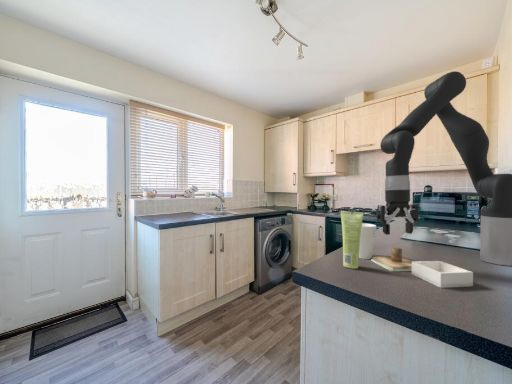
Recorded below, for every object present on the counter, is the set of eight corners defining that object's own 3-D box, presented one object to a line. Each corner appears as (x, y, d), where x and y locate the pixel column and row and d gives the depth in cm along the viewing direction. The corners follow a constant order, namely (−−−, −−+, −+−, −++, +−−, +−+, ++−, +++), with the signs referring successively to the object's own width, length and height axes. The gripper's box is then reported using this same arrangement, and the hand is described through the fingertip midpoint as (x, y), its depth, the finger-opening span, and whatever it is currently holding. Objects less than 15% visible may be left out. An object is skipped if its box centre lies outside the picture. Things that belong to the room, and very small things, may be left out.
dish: (439, 272, 72) (440, 260, 72) (472, 286, 62) (473, 272, 62) (411, 273, 71) (411, 261, 71) (440, 287, 61) (440, 273, 61)
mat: (400, 259, 85) (400, 258, 85) (424, 270, 74) (424, 268, 74) (371, 260, 84) (371, 259, 84) (391, 271, 73) (391, 269, 73)
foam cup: (379, 261, 83) (379, 227, 83) (353, 259, 85) (353, 226, 85) (371, 253, 93) (371, 223, 93) (348, 252, 95) (348, 222, 94)
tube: (352, 263, 81) (352, 210, 80) (363, 268, 76) (363, 212, 76) (339, 265, 79) (340, 211, 78) (350, 270, 74) (350, 212, 74)
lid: (399, 258, 85) (399, 244, 85) (423, 268, 74) (423, 252, 74) (372, 259, 84) (372, 245, 84) (393, 269, 73) (393, 253, 73)
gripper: (407, 188, 83) (407, 231, 83) (371, 189, 81) (372, 232, 81) (424, 188, 75) (425, 235, 75) (385, 188, 74) (386, 236, 74)
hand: (397, 233), depth 78 cm, fingers open, 8 cm apart
